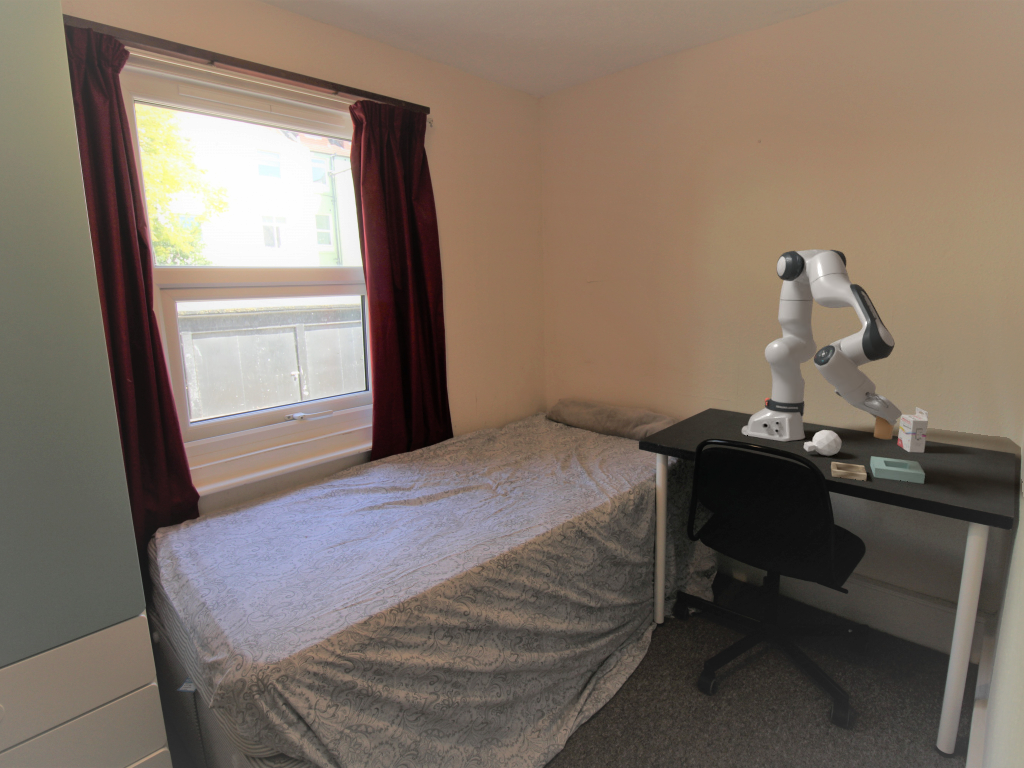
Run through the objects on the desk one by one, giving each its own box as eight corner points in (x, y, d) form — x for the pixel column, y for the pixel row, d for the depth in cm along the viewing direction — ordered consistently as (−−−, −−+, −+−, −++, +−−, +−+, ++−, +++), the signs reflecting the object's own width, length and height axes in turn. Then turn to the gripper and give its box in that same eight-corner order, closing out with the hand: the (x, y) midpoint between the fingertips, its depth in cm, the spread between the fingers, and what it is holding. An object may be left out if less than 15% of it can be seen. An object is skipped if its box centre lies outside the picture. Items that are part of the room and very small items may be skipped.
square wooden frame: (832, 476, 162) (832, 470, 161) (830, 467, 169) (831, 461, 169) (866, 481, 157) (866, 474, 157) (863, 471, 165) (863, 465, 165)
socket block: (874, 477, 160) (875, 467, 160) (870, 464, 171) (871, 456, 170) (923, 483, 155) (925, 474, 154) (916, 470, 165) (917, 461, 164)
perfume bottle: (828, 444, 187) (796, 449, 187) (833, 423, 183) (800, 428, 182) (845, 458, 180) (811, 464, 179) (850, 437, 175) (816, 442, 175)
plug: (874, 438, 160) (878, 408, 158) (873, 434, 164) (876, 404, 162) (892, 440, 157) (896, 409, 156) (891, 436, 161) (894, 406, 160)
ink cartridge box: (896, 445, 190) (900, 405, 188) (911, 445, 189) (916, 406, 187) (908, 452, 182) (913, 411, 179) (924, 453, 181) (930, 412, 178)
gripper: (888, 389, 147) (919, 422, 149) (846, 376, 167) (874, 406, 169) (870, 405, 149) (901, 437, 150) (831, 390, 169) (858, 419, 170)
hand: (887, 420), depth 160 cm, fingers closed on plug, 5 cm apart
